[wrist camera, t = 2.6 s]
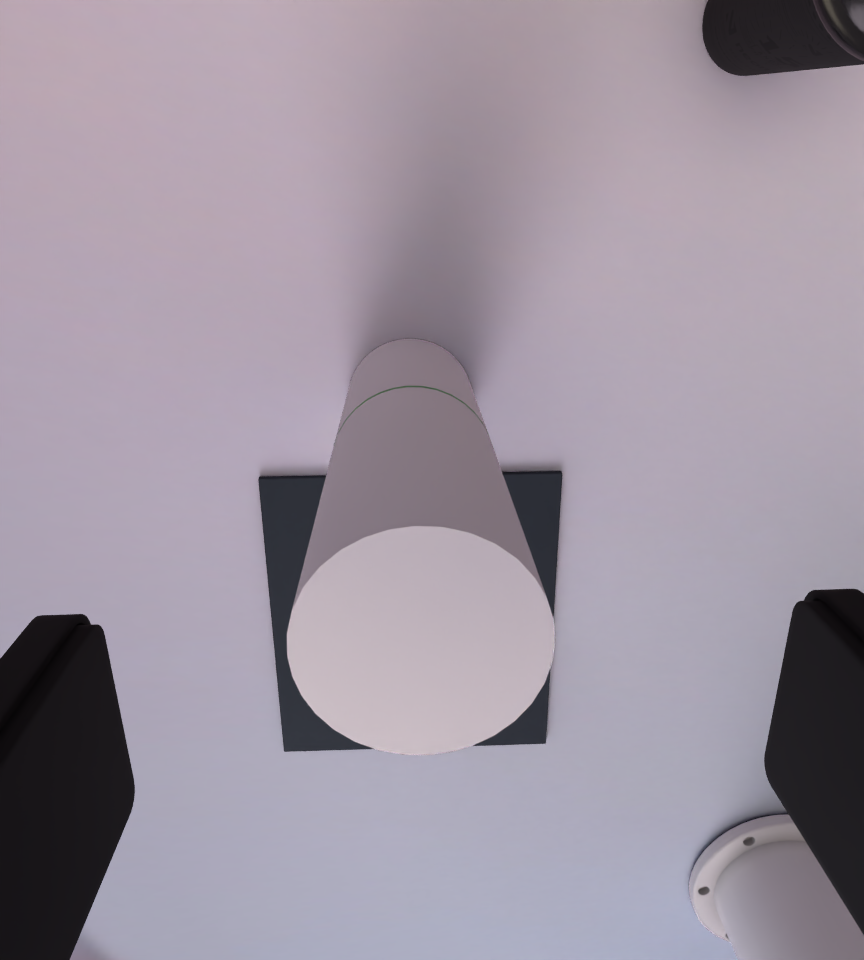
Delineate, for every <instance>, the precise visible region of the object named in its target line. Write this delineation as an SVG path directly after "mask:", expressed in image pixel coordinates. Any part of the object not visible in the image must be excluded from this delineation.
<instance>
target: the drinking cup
mask: <svg viewBox="0 0 864 960" xmlns="http://www.w3.org/2000/svg"><path fill="white" fill-rule="evenodd" d="M703 38H704V43H705V46H706V49H707V51H708V53H709V55H710V57H711V58H712V60H713V61H714V62H715V63H716V64H717V65H718V66H719V67H720V68H721V69H723V70H724V71H726V72H728V73H731V74H734V75H740V76H749V75H759V74H769V73H779V72H789V71H799V70H810V69H820V68H830V67H840V66H850V65H861V64H864V0H708V2H707V5H706V8H705V12H704V16H703Z"/></svg>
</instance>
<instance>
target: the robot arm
mask: <svg viewBox="0 0 864 960" xmlns="http://www.w3.org/2000/svg"><path fill="white" fill-rule="evenodd" d="M764 763H765V770H766V775H767V778H768V781H769V783H770V785H771V787H772V788H773V790H774V791H775V793H776V795H777V796H778V798H779V799H780V801H781V803H782V804H783V806H784V808H785V809H786V811H787V812H788V815H772V816H766V817H761V818H757V819H754V820H751V821H748V822H745V823H742V824H740V825H738V826H736V827H734V828H732V829H730V830H728V831H727V832H726V833H724V834H723V835H721V836H720V837H718V838H717V839H716V840H715V841H714V842H712V843H711V844H710V845H709V846H708V847H707V848H706V849H705V850H704V852H703V853H702V854H701V856H700V857H699V858H698V860H697V861H696V864H695V866H694V868H693V870H692V872H691V876H690V881H689V896H690V899H691V903H692V906H693V908H694V910H695V913H696V915H697V917H698V919H699V921H700V922H701V923H702V924H703V925H704V927H705V928H706V929H707V930H709V931H710V932H711V933H713V934H714V935H715V936H717V937H719V938H721V939H723V940H726V941H729V942H731V945H732V947H733V949H734V952H735V954H736V956H737V958H738V960H864V593H862V592H861V591H859V590H857V589H833V590H813V591H811V592H809V593H808V595H807V596H806V597H805V600H804V601H800V602H798V603H796V605H795V606H794V609H793V612H792V617H791V622H790V627H789V632H788V637H787V643H786V648H785V653H784V658H783V663H782V668H781V673H780V679H779V684H778V689H777V694H776V699H775V704H774V710H773V715H772V720H771V725H770V730H769V735H768V741H767V746H766V751H765V758H764ZM134 794H135V785H134V778H133V773H132V768H131V763H130V759H129V754H128V749H127V744H126V739H125V734H124V729H123V724H122V719H121V714H120V709H119V704H118V699H117V694H116V689H115V684H114V679H113V674H112V669H111V664H110V659H109V654H108V649H107V644H106V639H105V635H104V631H103V629H102V627H101V626H99V625H91V624H90V621H89V620H88V618H87V616H85V615H83V614H72V615H42V616H37V617H35V618H34V619H33V620H32V621H31V622H30V623H29V625H28V626H27V627H26V628H25V629H24V631H23V632H22V633H21V634H20V635H19V637H18V638H17V639H16V640H15V642H14V643H13V644H12V645H11V646H10V648H9V649H8V650H7V651H6V653H5V654H4V655H3V656H2V657H1V659H0V960H70V957H71V955H72V952H73V950H74V948H75V945H76V943H77V940H78V938H79V936H80V933H81V931H82V928H83V926H84V924H85V921H86V919H87V916H88V914H89V912H90V909H91V907H92V904H93V902H94V900H95V897H96V895H97V892H98V890H99V888H100V885H101V883H102V880H103V878H104V876H105V873H106V871H107V868H108V866H109V864H110V861H111V859H112V856H113V854H114V852H115V849H116V847H117V844H118V842H119V840H120V837H121V835H122V832H123V830H124V828H125V825H126V823H127V820H128V818H129V816H130V813H131V810H132V807H133V802H134Z"/></svg>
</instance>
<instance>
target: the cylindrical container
mask: <svg viewBox="0 0 864 960" xmlns="http://www.w3.org/2000/svg"><path fill="white" fill-rule="evenodd" d="M554 647H555V630H554V619H553V616H552V613H551V609H550V606H549V603H548V600H547V597H546V594H545V591H544V588H543V586H542V583H541V580H540V577H539V574H538V572H537V569H536V566H535V563H534V560H533V558H532V555H531V552H530V549H529V546H528V544H527V541H526V538H525V535H524V532H523V530H522V527H521V524H520V521H519V518H518V516H517V513H516V510H515V507H514V504H513V502H512V499H511V496H510V493H509V490H508V487H507V485H506V482H505V479H504V476H503V473H502V471H501V468H500V465H499V462H498V459H497V457H496V454H495V451H494V448H493V445H492V443H491V440H490V437H489V434H488V432H487V429H486V426H485V423H484V420H483V418H482V415H481V412H480V409H479V407H478V404H477V401H476V398H475V395H474V393H473V390H472V387H471V384H470V382H469V379H468V376H467V374H466V372H465V370H464V369H463V367H462V365H461V364H460V363H459V362H458V360H457V359H456V358H455V357H454V356H453V355H452V354H451V353H449V352H448V351H447V350H445V349H444V348H443V347H441V346H438V345H436V344H434V343H432V342H429V341H425V340H421V339H400V340H394V341H391V342H388V343H385V344H383V345H381V346H380V347H378V348H376V349H374V350H373V351H372V352H371V353H369V354H368V355H367V356H366V357H365V358H364V359H363V360H362V361H361V363H360V364H359V365H358V367H357V368H356V370H355V372H354V374H353V377H352V379H351V382H350V385H349V389H348V393H347V397H346V401H345V405H344V409H343V412H342V416H341V420H340V424H339V428H338V432H337V436H336V439H335V443H334V447H333V451H332V455H331V459H330V463H329V467H328V471H327V475H326V479H325V482H324V486H323V490H322V494H321V498H320V502H319V506H318V510H317V514H316V518H315V522H314V526H313V529H312V533H311V537H310V541H309V545H308V549H307V553H306V557H305V561H304V565H303V569H302V573H301V577H300V580H299V584H298V588H297V592H296V596H295V600H294V604H293V608H292V612H291V617H290V621H289V626H288V631H287V657H288V661H289V665H290V669H291V673H292V677H293V679H294V681H295V683H296V685H297V687H298V689H299V691H300V694H301V696H302V697H303V698H304V700H305V701H306V702H307V703H308V705H309V706H310V707H311V709H312V710H313V711H314V713H315V714H316V715H317V716H319V717H320V718H321V719H322V720H323V721H324V722H326V723H327V724H328V725H329V726H330V727H331V728H332V729H334V730H335V731H337V732H339V733H341V734H342V735H344V736H346V737H347V738H349V739H351V740H353V741H354V742H357V743H360V744H362V745H365V746H368V747H371V748H374V749H376V750H379V751H385V752H391V753H396V754H402V755H433V754H440V753H447V752H453V751H456V750H459V749H463V748H466V747H470V746H473V745H475V744H477V743H479V742H482V741H484V740H486V739H488V738H490V737H492V736H494V735H496V734H497V733H499V732H500V731H501V730H503V729H504V728H506V727H507V726H509V725H510V724H511V723H513V722H514V721H515V720H516V719H517V718H518V717H519V716H520V715H521V714H522V713H523V712H524V711H525V710H526V709H527V708H528V707H529V706H530V705H531V704H532V702H533V701H534V699H535V698H536V696H537V695H538V693H539V691H540V690H541V688H542V687H543V685H544V684H545V681H546V678H547V676H548V673H549V670H550V667H551V665H552V662H553V655H554Z"/></svg>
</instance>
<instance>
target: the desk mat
mask: <svg viewBox="0 0 864 960" xmlns="http://www.w3.org/2000/svg"><path fill="white" fill-rule="evenodd" d="M502 473H503V476H504V479H505V482H506V485H507V487H508V490H509V493H510V496H511V499H512V502H513V504H514V507H515V510H516V513H517V516H518V518H519V521H520V524H521V527H522V530H523V532H524V535H525V538H526V541H527V544H528V546H529V549H530V552H531V555H532V558H533V560H534V563H535V566H536V569H537V572H538V574H539V577H540V580H541V583H542V586H543V588H544V591H545V594H546V597H547V600H548V603H549V606H550V609H551V613H552V616H554V599H555V583H556V567H557V551H558V534H559V518H560V502H561V486H562V472H561V471H547V472H502ZM325 479H326V476H272V477H259V490H260V501H261V511H262V522H263V533H264V543H265V554H266V564H267V575H268V586H269V596H270V607H271V617H272V628H273V639H274V649H275V660H276V671H277V681H278V692H279V702H280V713H281V724H282V734H283V745H284V752H288V751H320V750H353V749H374V748H371V747H368V746H365V745H362V744H360V743H357V742H354V741H353V740H351V739H349V738H347V737H346V736H344V735H342V734H341V733H339V732H337V731H335V730H334V729H332V728H331V727H330V726H329V725H328V724H327V723H326V722H324V721H323V720H322V719H321V718H320V717H319V716H317V715H316V714H315V713H314V711H313V710H312V709H311V707H310V706H309V705H308V703H307V702H306V701H305V700H304V698H303V697H302V696H301V694H300V691H299V689H298V687H297V685H296V683H295V681H294V679H293V677H292V673H291V669H290V665H289V661H288V657H287V631H288V626H289V621H290V617H291V612H292V608H293V604H294V600H295V596H296V592H297V588H298V584H299V580H300V577H301V573H302V569H303V565H304V561H305V557H306V553H307V549H308V545H309V541H310V537H311V533H312V529H313V526H314V522H315V518H316V514H317V510H318V506H319V502H320V498H321V494H322V490H323V486H324V482H325ZM549 681H550V670H549V673H548V676H547V678H546V681H545V684H544V685H543V687H542V688H541V690H540V691H539V693H538V695H537V696H536V698H535V699H534V701H533V702H532V704H531V705H530V706H529V707H528V708H527V709H526V710H525V711H524V712H523V713H522V714H521V715H520V716H519V717H518V718H517V719H516V720H515V721H514V722H513V723H511V724H510V725H509V726H507V727H506V728H504V729H503V730H501V731H500V732H499V733H497V734H496V735H494V736H492V737H490V738H488V739H486V740H484V741H482V742H479V743H477V744H475V745H473V746H483V745H515V744H545V743H546V730H547V713H548V697H549Z"/></svg>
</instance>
